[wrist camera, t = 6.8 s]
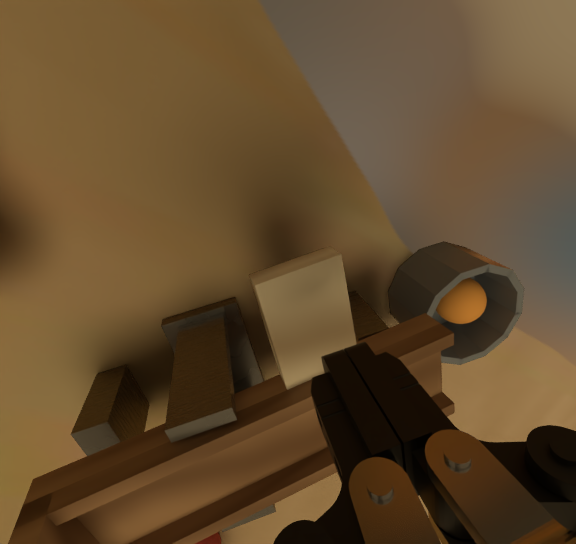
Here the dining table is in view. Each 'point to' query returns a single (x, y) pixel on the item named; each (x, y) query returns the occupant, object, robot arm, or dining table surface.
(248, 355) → the wooden rack
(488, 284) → the cup
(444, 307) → the ball
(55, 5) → the dining table surface
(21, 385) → the dining table surface
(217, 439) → the wooden tray
